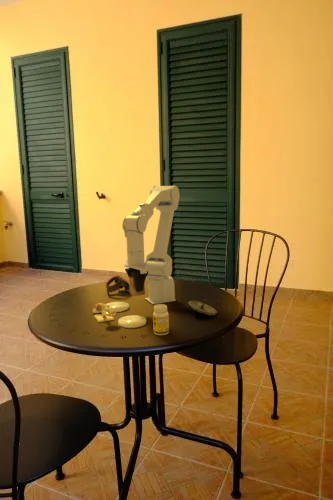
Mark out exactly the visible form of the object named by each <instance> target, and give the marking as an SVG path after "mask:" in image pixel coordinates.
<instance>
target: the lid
mask: <svg viewBox="0 0 333 500" xmlns="http://www.w3.org/2000/svg"><path fill="white" fill-rule="evenodd" d="M204 302H205V303H204ZM206 303H207V299H203V300H202V302H201V301H198V300H189V301H187V304H188V305H189V306H190V308H192V309H193V310H195V311H196V312H198V313H200V314H203V315H207V316H216V315H217V314H218V310H216V309H215V308H214V307H212V306H211V305H209V304H206Z"/></svg>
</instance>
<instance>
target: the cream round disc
mask: <svg viewBox="0 0 333 500" xmlns="http://www.w3.org/2000/svg"><path fill="white" fill-rule="evenodd" d="M117 321H118V322H117V324H118V326H120V327H121V328H126V329H135V328H141V327H143V326H145V325H146V324H147V318H146V317H145V316H143V315H138V314H137V315H135V314H133V315H126V316H122V317H120V318H119V319H117Z"/></svg>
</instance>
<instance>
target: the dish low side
mask: <svg viewBox="0 0 333 500" xmlns="http://www.w3.org/2000/svg"><path fill="white" fill-rule="evenodd" d="M105 304H106V305H110V307H109V310H114V311H116V313H122V312H125V311H127V310H129V309H130V304H129V303H128V302H125V301H111V302H108V303H105ZM106 310H108V308H107V307H105V311H106Z"/></svg>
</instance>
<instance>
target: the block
mask: <svg viewBox="0 0 333 500" xmlns="http://www.w3.org/2000/svg"><path fill="white" fill-rule="evenodd" d="M128 278H129V280H128V283H129V285H130V291H129V294H130V295H131V296H133V297H137V296H144V295H145V294H146V287H145V286H146V285H145V283H144V288H143V291H142V292H136V288H135V282H134V279H133V276H129V277H128Z"/></svg>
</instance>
